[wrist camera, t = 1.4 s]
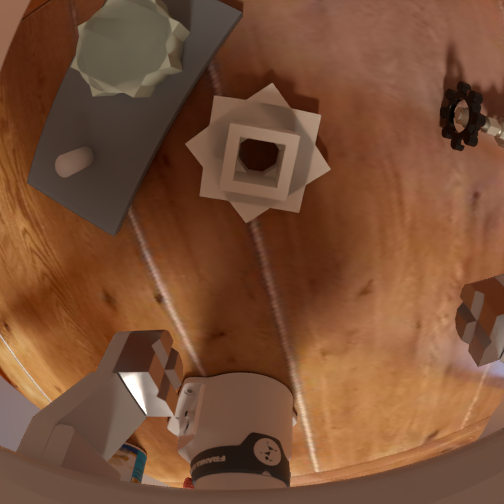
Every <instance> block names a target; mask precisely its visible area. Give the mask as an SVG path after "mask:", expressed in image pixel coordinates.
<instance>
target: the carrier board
mask: <svg viewBox="0 0 504 504" xmlns="http://www.w3.org/2000/svg"><path fill="white" fill-rule="evenodd" d="M242 17H243V15H242V12H241V11H239V10H237V9H235V8H233V7H231V6H229V5H226V4H224V3H222V2H220V1H218V0H106V1H105V3H104V4H103V6H102V7H101V9H100V10H98V11H97V12H96V13H95V14H94V15H93V16H92V17H91V18H90V19H89V21H87V22H85V23H83V24H81V25H79V26H78V31H79V39H78V43H77V49H76V53H75V55H74V57H73V59H72V61H71V63H70V66H69V68H68V70H67V72H66V74H65V76H64V78H63V81H62V83H61V85H60V87H59V90H58V92H57V94H56V97H55V99H54V102H53V104H52V107H51V109H50V112H49V114H48V117H47V120H46V123H45V125H44V128H43V131H42V134H41V137H40V140H39V143H38V146H37V149H36V152H35V155H34V159H33V162H32V166H31V169H30V173H29V176H28V180H27V183H28V184H30V185H31V186H33V187H34V188H36V189H37V190H39V191H40V192H42V193H44V194H45V195H47V196H48V197H50V198H51V199H53V200H55V201H56V202H58V203H59V204H61V205H63V206H64V207H66V208H67V209H69V210H71V211H72V212H74V213H76V214H77V215H79V216H80V217H82V218H84V219H85V220H87V221H89V222H90V223H92V224H94V225H95V226H97V227H99V228H100V229H102V230H104V231H105V232H107V233H109V234H110V235H112V236H115V235H116V234H117V233H118V231H119V230H120V228H121V225H122V223H123V221H124V219H125V216H126V214H127V212H128V210H129V208H130V206H131V203H132V201H133V199H134V197H135V195H136V193H137V191H138V189H139V187H140V184H141V182H142V180H143V178H144V176H145V174H146V172H147V170H148V168H149V166H150V164H151V163H152V161H153V159H154V157H155V155H156V153H157V151H158V149H159V147H160V145H161V144H162V142H163V140H164V138H165V136H166V134H167V133H168V131H169V129H170V127H171V126H172V124H173V122H174V120H175V119H176V117H177V115H178V113H179V112H180V110H181V108H182V107H183V105H184V103H185V101H186V100H187V98H188V97H189V95H190V93H191V92H192V90H193V88H194V87H195V85H196V84H197V82H198V80H199V79H200V77H201V76H202V74H203V73H204V71H205V70H206V68H207V66H208V65H209V63H210V62H211V60H212V59H213V57H214V56H215V54H216V53H217V52H218V50H219V49H220V47H221V46H222V44H223V43H224V41H225V40H226V39H227V37H228V36H229V34H230V33H231V32H232V30H233V29H234V28H235V26H236V25H237V23H238V22H239V21H240V19H241V18H242Z"/></svg>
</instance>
